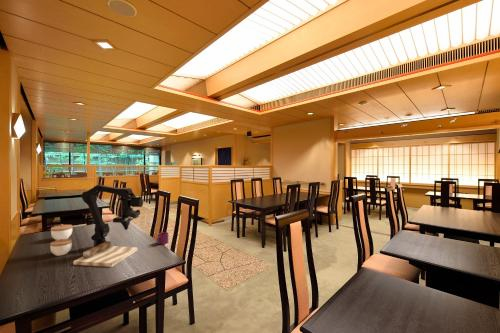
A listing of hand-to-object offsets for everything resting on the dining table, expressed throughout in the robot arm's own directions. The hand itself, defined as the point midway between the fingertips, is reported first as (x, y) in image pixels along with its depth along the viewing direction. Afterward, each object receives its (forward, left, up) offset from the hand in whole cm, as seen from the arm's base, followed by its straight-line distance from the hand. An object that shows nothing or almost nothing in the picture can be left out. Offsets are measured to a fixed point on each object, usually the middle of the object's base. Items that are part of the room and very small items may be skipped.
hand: (126, 229), depth 154 cm
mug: (+20, +10, -12) cm, 26 cm away
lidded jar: (-33, -15, -12) cm, 38 cm away
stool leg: (-9, -15, -9) cm, 20 cm away
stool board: (-1, -16, -12) cm, 20 cm away
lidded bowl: (-58, +10, -12) cm, 60 cm away
